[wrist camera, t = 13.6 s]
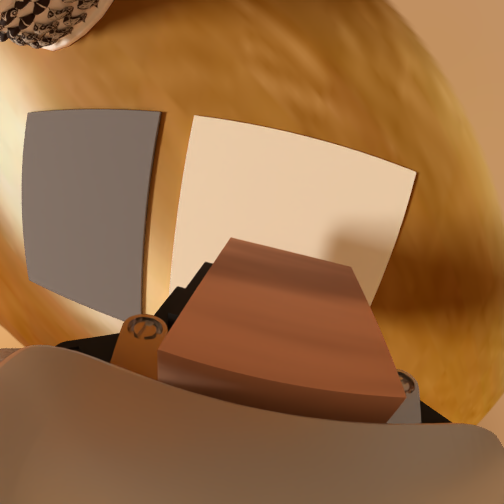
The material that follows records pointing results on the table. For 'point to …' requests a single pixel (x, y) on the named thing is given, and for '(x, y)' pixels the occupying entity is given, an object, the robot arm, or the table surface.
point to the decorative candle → (49, 21)
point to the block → (282, 338)
